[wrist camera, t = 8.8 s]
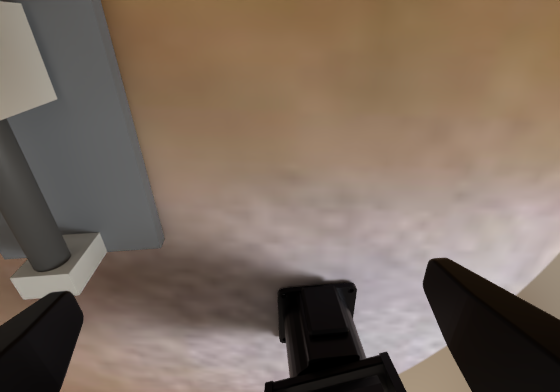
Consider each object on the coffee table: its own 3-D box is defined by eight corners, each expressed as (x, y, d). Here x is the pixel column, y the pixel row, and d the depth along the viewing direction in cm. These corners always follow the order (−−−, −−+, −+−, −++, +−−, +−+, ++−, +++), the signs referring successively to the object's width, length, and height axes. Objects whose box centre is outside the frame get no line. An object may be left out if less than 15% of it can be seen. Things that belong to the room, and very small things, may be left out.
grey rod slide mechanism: (164, 238, 21) (140, 296, 16) (15, 249, 20) (-52, 312, 16) (69, -117, 12) (-39, -201, 8) (-201, -116, 12) (-490, -208, 7)
